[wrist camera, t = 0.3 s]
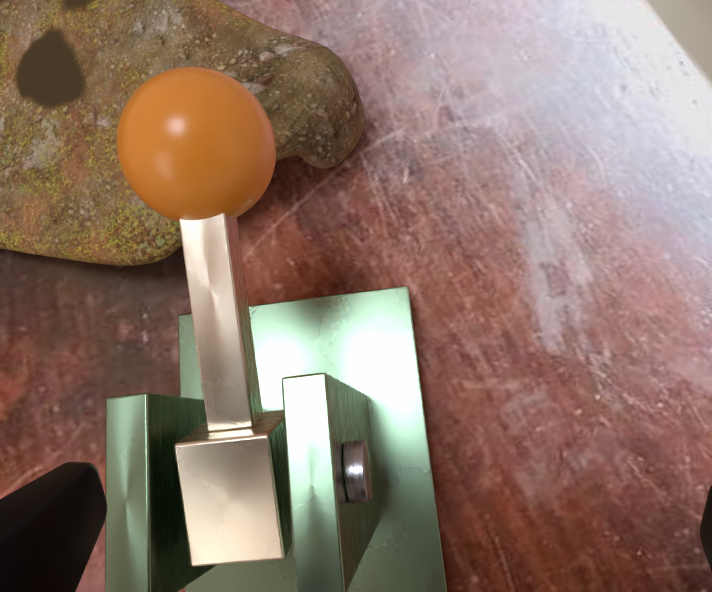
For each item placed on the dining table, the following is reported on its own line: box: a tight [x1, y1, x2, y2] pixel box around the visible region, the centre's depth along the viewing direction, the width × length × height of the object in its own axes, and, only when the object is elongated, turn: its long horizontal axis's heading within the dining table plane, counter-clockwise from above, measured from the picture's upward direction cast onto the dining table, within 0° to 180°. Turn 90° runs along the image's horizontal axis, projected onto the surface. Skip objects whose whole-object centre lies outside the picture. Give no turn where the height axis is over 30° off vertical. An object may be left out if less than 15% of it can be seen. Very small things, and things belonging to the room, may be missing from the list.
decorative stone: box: [0, 0, 365, 265], centre depth 26 cm, size 25×15×5 cm, turn 50°
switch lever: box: [117, 67, 292, 567], centre depth 13 cm, size 11×4×4 cm, turn 6°
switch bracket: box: [105, 286, 447, 592], centre depth 17 cm, size 12×9×10 cm
